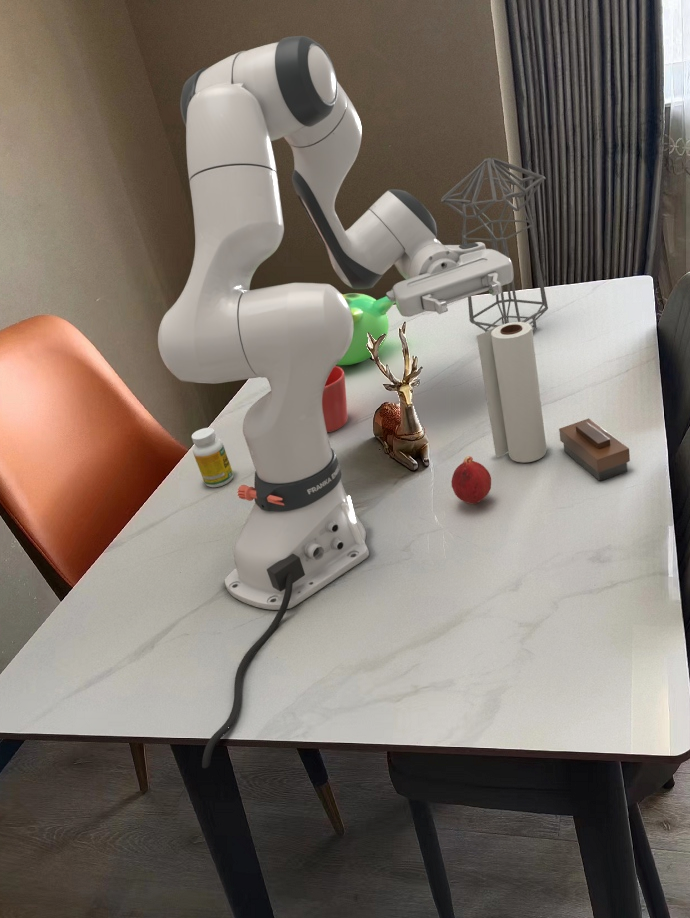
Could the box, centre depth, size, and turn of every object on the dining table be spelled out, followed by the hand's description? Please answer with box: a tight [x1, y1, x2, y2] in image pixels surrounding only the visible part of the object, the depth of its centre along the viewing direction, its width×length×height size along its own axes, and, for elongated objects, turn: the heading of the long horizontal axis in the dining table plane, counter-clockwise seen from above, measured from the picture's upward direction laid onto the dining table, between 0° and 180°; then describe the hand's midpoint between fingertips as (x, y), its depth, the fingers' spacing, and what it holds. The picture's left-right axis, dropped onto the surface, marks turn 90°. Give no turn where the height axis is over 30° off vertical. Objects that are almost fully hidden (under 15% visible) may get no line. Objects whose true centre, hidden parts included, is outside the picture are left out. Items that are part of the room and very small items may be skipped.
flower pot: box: [322, 365, 348, 433], centre depth 160 cm, size 11×11×10 cm
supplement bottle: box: [191, 427, 234, 488], centre depth 150 cm, size 5×5×10 cm
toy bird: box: [336, 292, 396, 366], centre depth 182 cm, size 18×17×15 cm
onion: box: [451, 455, 492, 505], centre depth 127 cm, size 6×6×8 cm
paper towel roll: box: [476, 321, 548, 464], centre depth 132 cm, size 7×6×21 cm
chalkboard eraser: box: [558, 418, 631, 482], centre depth 131 cm, size 12×5×5 cm, turn 18°
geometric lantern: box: [440, 157, 549, 333], centre depth 170 cm, size 16×16×35 cm
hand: (470, 299), depth 137 cm, fingers open, 8 cm apart
